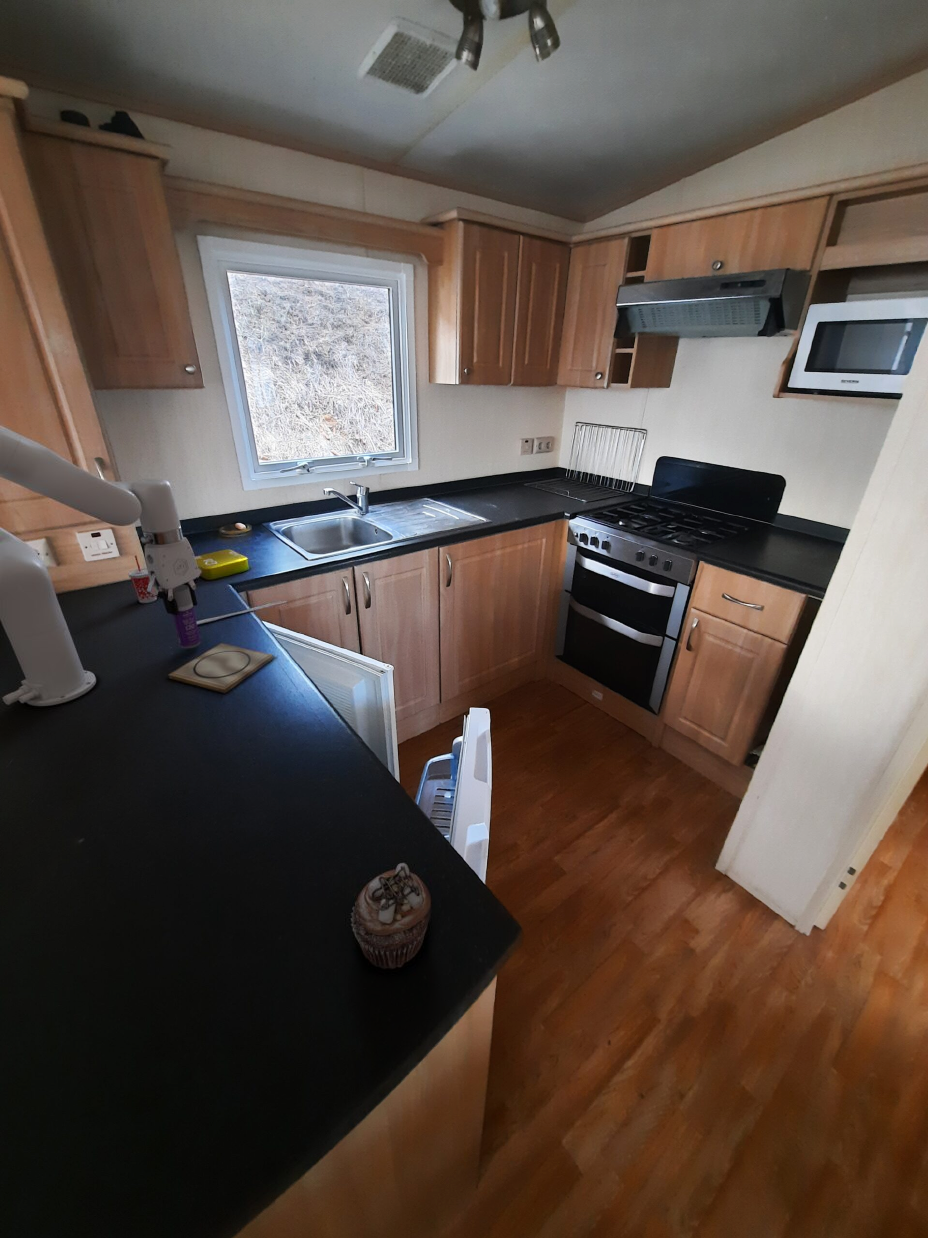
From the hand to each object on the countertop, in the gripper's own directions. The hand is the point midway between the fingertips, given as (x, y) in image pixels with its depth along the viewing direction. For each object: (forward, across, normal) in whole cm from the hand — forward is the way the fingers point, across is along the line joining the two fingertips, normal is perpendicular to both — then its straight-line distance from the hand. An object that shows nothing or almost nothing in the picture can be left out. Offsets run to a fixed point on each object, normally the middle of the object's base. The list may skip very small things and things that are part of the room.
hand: (182, 608), depth 122 cm
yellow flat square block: (+12, +46, +35) cm, 59 cm away
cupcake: (+11, -46, -80) cm, 93 cm away
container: (+10, 0, 0) cm, 10 cm away
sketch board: (+11, -4, -14) cm, 18 cm away
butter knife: (+11, +21, +4) cm, 24 cm away
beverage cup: (+12, +18, +36) cm, 42 cm away
